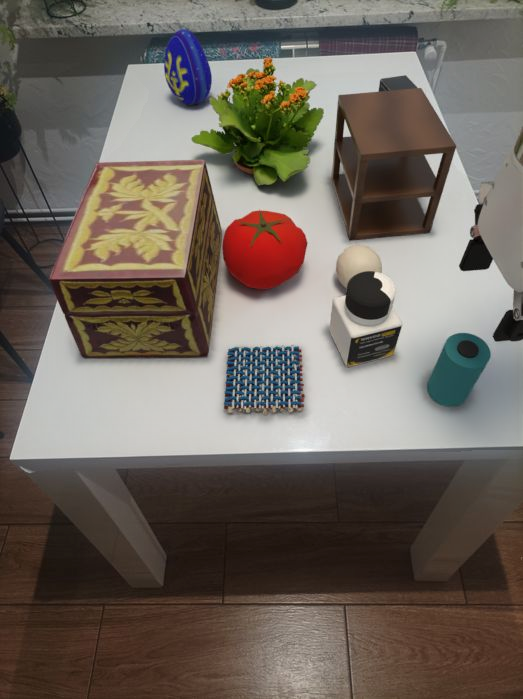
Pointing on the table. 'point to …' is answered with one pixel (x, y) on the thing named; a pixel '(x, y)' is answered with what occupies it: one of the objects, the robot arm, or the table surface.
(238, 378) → the woven mat
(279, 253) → the tomato
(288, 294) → the table surface
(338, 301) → the medicine bottle
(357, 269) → the cream round ball
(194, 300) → the decorative box
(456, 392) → the teal cylinder
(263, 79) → the potted flower
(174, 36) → the ornament
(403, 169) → the rack
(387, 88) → the box
